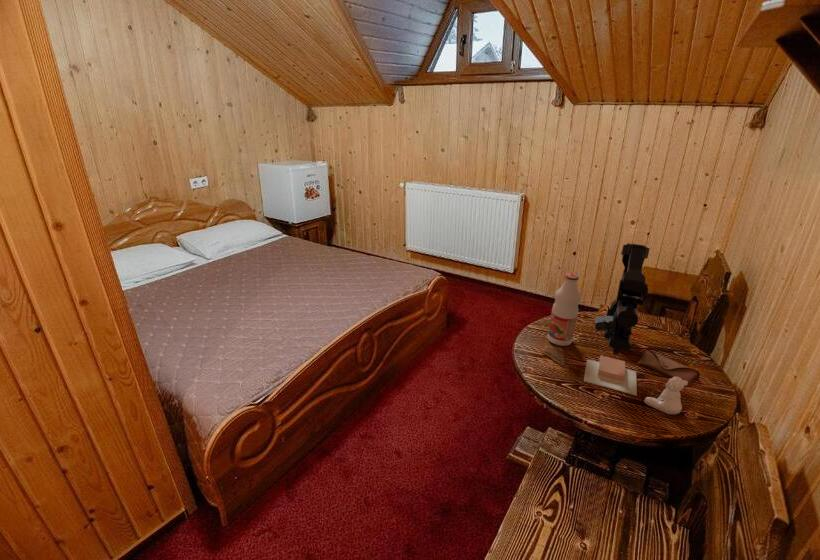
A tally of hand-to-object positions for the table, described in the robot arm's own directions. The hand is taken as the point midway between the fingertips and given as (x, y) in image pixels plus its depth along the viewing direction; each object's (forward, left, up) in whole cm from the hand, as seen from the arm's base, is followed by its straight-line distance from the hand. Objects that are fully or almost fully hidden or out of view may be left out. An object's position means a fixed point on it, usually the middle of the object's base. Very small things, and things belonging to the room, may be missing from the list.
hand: (615, 354), depth 138 cm
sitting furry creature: (+12, +16, -8) cm, 21 cm away
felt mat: (+3, 0, -8) cm, 8 cm away
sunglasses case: (-11, +18, -8) cm, 22 cm away
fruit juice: (-14, -19, -8) cm, 25 cm away
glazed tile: (-5, 0, -6) cm, 8 cm away
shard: (-2, -18, -8) cm, 20 cm away
